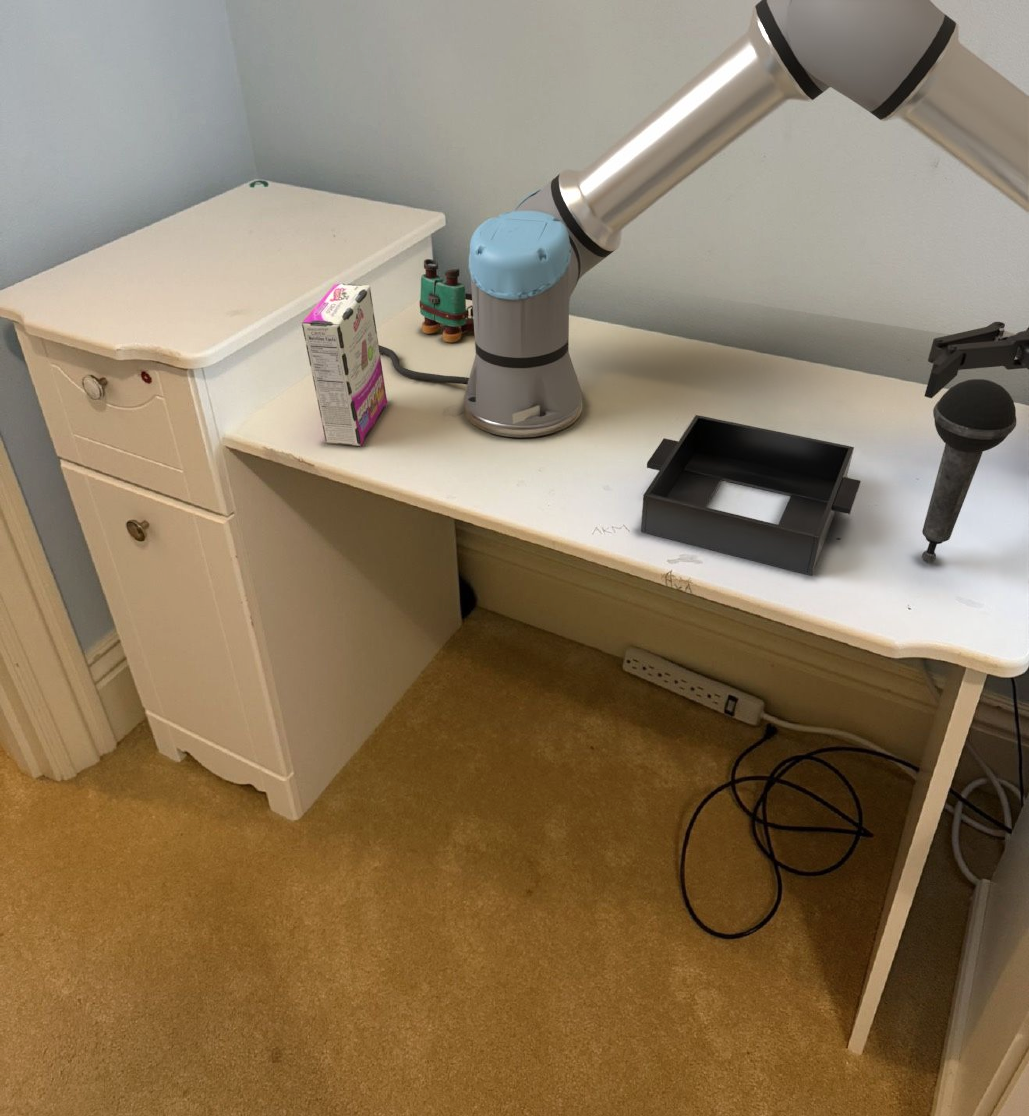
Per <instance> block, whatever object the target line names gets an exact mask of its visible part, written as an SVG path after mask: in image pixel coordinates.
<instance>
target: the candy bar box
mask: <svg viewBox="0 0 1029 1116" xmlns="http://www.w3.org/2000/svg"><path fill="white" fill-rule="evenodd" d="M371 292H372V291H371V285H368V284H366V285H364V284H352V283H351V284H349V283H347V284H345V283H334V284H333V285H332V286H331V288H330V289H329V290H328V291H327V292H326V293H325V294H324V296H323V297H322V298H321V299H320V300H319V301H318V303H317V304H316V305H315V306H314V307H313V308H312V309H311V310H310V312H309V313H308V314H307V315H306V317H304V318H303V320H302V321H301V322H300V323H301V327H302V332H303V337H304V341H305V342H304V343H305V346H306V353H307V357H308V363H309V367H310V371H311V372H310V373H311V376H312V380H313V385H314V391H315V397H316V400H317V401H316V402H317V405H318V410H319V411H318V412H319V415H320V420H321V425H322V431H323V436H324V440H325V443H326V444H329V445H339V446H351V447H361V446H362V445H363V443H364V442H365V440H366V439H367V437H368V435H369V434H370V433H371V430H372V429H373V427H374V425H375V424H376V422H377V420H378V419H379V417H380V416H381V414H382V412H383V411H384V409H385V407H386V406H387V405H388V399H387V392H386V386H385V377H384V372H383V365H382V360H381V359H382V357H381V353H380V351H379V345H380V344H379V337H378V331H377V325H376V318H375V317H376V316H375V311H374V310H375V309H374V304H373V298H372V297H373V296H372V293H371Z"/></svg>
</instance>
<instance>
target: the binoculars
mask: <svg viewBox="0 0 1029 1116" xmlns="http://www.w3.org/2000/svg"><path fill="white" fill-rule="evenodd" d="M438 269H439V263H438V262H437V261H436V260H434V259H431V258H426V259H424V260H423V270H425V273H424V274H422V275H421V277H420V299H419V313H420V315H421V316H423V317H424V321H423V322H422V324H421V331H422V333H424V334H430V335H431V334H435V333H437V332H438V331H440V330H441V328H442V325H444V326H445V329H444V330H442V340H443V341H444V342H446V343H454V342H457V341H459V340H461V338H462V333H466V332H468V333H469V332H474V319H473V304H472V305H471V304H470V305H469V306H468V307H467V301H472V293H468V292H466V287H465V284H464V283H462V282H459V280H458V279H459V277H460V268H453V269H449V270H445V271H444V276H445V279H446V280H444V279H443V277H442V276H440V275H438V274H437V272H438V271H437V270H438ZM469 309H470V310H469ZM469 312H470V313H469ZM469 315H470V317H469Z"/></svg>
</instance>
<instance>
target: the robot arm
mask: <svg viewBox="0 0 1029 1116" xmlns="http://www.w3.org/2000/svg"><path fill="white" fill-rule="evenodd" d="M959 30H960V29H959V24H958V23H957V22H956V21H955V20H953V19H952V18H951V17H950V16H948V15H947V14H946V13H944V12H943V11H942V10H941V9H939V8H938V7H937V6H936V5H935V4H934V3H933V2H932V1H931V0H760V1H759V2H758V3H756V5H755V6H753V7H752V11H751V16H750V21H749V26H748V28H747V31H746V32H745V33H744V34H743V35H741V36H740V37H739V38H738V39H737V40H735V41H734V42H733V43H732V44H731V45H730V46H728V47H727V48H726V49H725V50H724V51H722V52H721V53H720V54H719V55H718V56H716V57H715V58H714V59H713V60H712V61H711V62H709V63H708V64H707V65H706V66H705V67H704V68H702V69H701V70H700V71H699V72H698V73H696V74H695V75H694V76H693V77H692V78H690V79H689V80H688V81H687V82H686V83H684V84H683V85H682V86H681V87H680V88H678V89H677V90H676V91H675V92H674V93H673V94H671V95H670V96H669V97H667V99H666V100H665V101H663V102H662V103H661V104H660V105H659V106H657V107H656V108H655V109H654V110H652V111H651V112H650V113H649V114H648V115H646V117H644V118H643V119H642V120H641V121H639V123H638V124H636V125H635V126H634V127H632V129H630V130H629V131H627V133H626V134H624V135H623V136H622V137H621V138H620V139H618V140H617V141H616V142H614V143H613V145H612V146H610V147H609V148H608V149H607V150H606V151H604V152H603V153H601V155H599V156H598V157H597V158H596V159H595V160H594V161H592V162H591V163H590V164H589V165H588V166H587V167H585V168H584V169H583V170H574V169H568V168H567V169H563V170H562V171H561V172H560V173H559V174H557V176H555V177H554V178H552V180H550V181H549V182H548V183H547V184H546V185H544V186H543V187H542V188H540V189H539V188H538V189H537V190H536V191H534V192H532V193H530V194H528V195H527V196H526V197H524V198H523V199H522V201H520V202H519V203H518V205H517V206H516V207H515V209H514V210H513V211H509V212H505V213H501V214H499V215H498V217H490V218H489V219H486V220H485V221H483V222H482V223H481V224H480V225H478V226H477V228H476V229H475V230H474V232H473V234H472V235H471V238H470V243H469V255H468V271H469V275H470V286H471V287H470V288H471V294H472V302H471V303H472V306H473V319H474V331H473V332H474V334H473V335H474V346H475V347H474V349H475V350H474V351H475V356H474V360H473V364H472V367H471V370H470V374H469V377H468V376H466V377H465V376H457V375H443V374H435V373H429V372H421V371H415V370H412V369H408V368H405V367H404V366H402V365H401V364H400V360H399V357H398V355H397V353H396V352H395V351H394V350H393V349H391V348H388V347H386V346H383V345H380V344H378V345H379V351H380V354H382V355H385V356H386V357H387V356H388V357H389V358H390V360H391V365H392V367H393V368H394V370H395V371H396V372H397V373H398V374H400V375H403V376H405V377H408V378H410V379H411V378H412V379H416V380H421V381H427V382H429V381H430V382H436V383H445V384H458V385H466V387H465V388H466V389H465V392H464V395H463V400H464V401H463V402H464V413H465V416H466V418H467V419H468V421H469V422H470V423H471V424H472V425H473V426H474V427H476V428H478V429H479V430H481V431H484V432H487V433H489V434H493V435H495V436H502V437H507V438H534V437H540V436H541V437H542V436H546V435H551V434H553V433H557V432H559V431H561V430H564V429H566V428H567V427H569V426H571V425H572V424H574V423H575V422H576V421H577V420H578V419H579V418H580V416H581V413H582V411H583V390H582V387H581V384H580V382H579V378H578V376H577V373H576V370H575V367H574V364H573V360H572V358H571V355H570V347H569V345H570V342H569V340H570V300H571V296H572V294H573V293H574V291H575V288H576V287H577V285H578V283H579V280H580V279H581V278H582V277H583V276H584V275H585V274H587V273H588V272H589V271H591V269H593V268H595V266H597V265H598V264H600V263H601V262H603V261H604V260H605V259H606V258H607V257H609V256H610V255H611V254H612V253H614V252H615V251H617V250H618V249H619V248H620V246H621V240H622V233H623V230H624V229H625V228H626V227H628V226H629V225H630V224H631V223H633V222H634V221H636V220H637V219H638V218H639V217H641V216H642V215H643V214H644V213H646V212H647V211H649V210H650V209H651V208H652V207H654V206H655V205H656V204H657V203H659V202H660V201H661V200H663V199H664V198H666V197H667V196H668V195H669V194H671V193H672V192H674V190H676V189H677V188H678V187H679V186H681V185H682V184H684V183H685V182H687V180H689V179H690V178H691V177H693V176H694V175H695V174H696V173H698V172H699V171H700V170H702V169H703V168H704V167H705V166H707V165H709V163H711V162H712V161H713V160H715V159H716V158H717V157H718V156H720V155H721V154H723V153H724V152H725V151H726V150H727V149H729V148H730V147H731V146H733V145H734V144H735V143H737V142H738V141H739V140H741V139H742V138H743V137H744V136H746V135H747V134H748V133H750V132H751V131H752V130H753V129H755V128H756V127H757V126H759V125H760V124H761V123H762V122H764V121H766V120H767V118H769V117H770V116H772V115H773V114H774V113H776V112H777V111H778V110H779V109H781V108H782V107H783V106H784V105H786V104H788V103H789V102H790V101H800V102H809V103H811V102H813V101H814V100H815V99H817V98H818V97H819V96H820V95H822V94H823V93H825V92H826V91H827V90H828V89H830V88H831V89H833V90H835V91H836V92H837V93H839V94H841V95H843V96H844V97H846V98H848V99H849V100H850V101H852V102H854V103H855V104H857V105H858V106H860V107H861V108H863V109H864V110H865V111H867V112H869V113H870V114H872V116H874V117H875V118H877V119H878V120H880V121H881V122H888V121H893V120H896V119H897V120H901V121H902V122H903V123H905V124H906V125H907V126H908V127H910V128H911V129H912V130H914V131H915V132H916V133H918V134H919V135H921V136H922V137H923V138H925V139H926V140H928V141H929V142H930V143H932V144H933V145H934V146H935V147H937V148H938V149H939V150H941V151H942V152H944V153H945V154H946V155H948V156H949V157H951V158H952V159H953V160H955V161H956V162H957V163H958V164H960V165H962V166H963V167H964V168H965V169H967V170H968V171H969V172H971V173H972V174H974V175H975V176H976V177H977V178H979V179H980V180H982V181H983V182H985V183H986V184H987V185H988V186H990V187H991V188H992V189H994V190H995V191H996V192H998V193H999V194H1001V195H1002V196H1004V197H1005V198H1006V199H1008V200H1009V201H1010V202H1012V203H1013V204H1014V205H1016V206H1017V207H1018V208H1019V209H1021V210H1023V211H1024V212H1025V213H1027V214H1028V215H1029V95H1028V94H1027V93H1026V92H1024V91H1023V90H1021V89H1020V88H1019V87H1018V86H1016V85H1015V84H1014V83H1013V82H1012V81H1010V80H1009V79H1008V78H1006V77H1005V76H1003V75H1002V74H1001V73H1000V72H998V71H997V70H995V69H994V68H993V67H992V66H990V65H989V64H988V63H987V62H986V61H984V60H983V59H981V57H979V56H977V55H976V54H975V53H973V52H972V51H971V50H970V49H969V48H967V47H966V46H964V45H963V44H962V43H961V42H960V40H959ZM1005 327H1006V323H1004V322H1002V321H994V322H992V323H990V324H988V325H987V326H984V327H980V328H979V327H978V328H974V329H971V330H966V331H962V332H957V333H953V334H948V335H944V336H940V337H934V338H933V341H932V343H931V346H930V351H929V354H928V358H927V362H928V363H930V364H932V366H931V370H930V375H929V377H928V381H927V385H926V389H925V392H924V397H925V398H928V399H933V398H934V397H935V396H936V395H937V394H938V393H939V392H941V391H942V390H943V389H944V388H945V387H946V386H947V385H948V384H950V382H951V381H953V380H954V379H955V378H956V377H957V376H958V373H959V371H963V370H976V369H986V368H996V367H1003V368H1004V369H1006V370H1007V371H1009V370H1019V369H1020V370H1021V369H1027V370H1029V326H1028V327H1027V328H1026V329H1025V330H1021V331H1018V332H1017V333H1014V332H1010V331H1006V329H1005Z"/></svg>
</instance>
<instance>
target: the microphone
mask: <svg viewBox="0 0 1029 1116" xmlns="http://www.w3.org/2000/svg"><path fill="white" fill-rule="evenodd" d="M932 413H933V415H932V416H933V419H934V427H935V430H936V432H937V435H938V437H940V439H941V440H942V442H943V443H945V445H944V448H943V452H942V456H941V460H940V464H939V467H938V470H937V474H936V478H935V482H934V486H933V489H932V493H931V495H930V496H931V497H930V501H929V504H928V508H927V511H926V516H925V519H924V523H923V527H922V530H921V532H922V535H923V537H924V538H925V540H926V541H927V542H929V543H928V545H927V549H926V550H924V551H923V552H922V554H921V559H922V561H923V562H924V563H926V564H931V563H934V562H935V561H936V559H937V554H936V549H937V546H938V545H940V544H943V543H944V542H948V541H949V540H950V539H951V537H952V534H953V531H954V529H955V527H956V524H957V521H958V519H959V515H960V513H961V511H962V507H963V505H964V504H965V503H964V502H965V500H966V498H967V495H968V492H969V490H970V486H971V484H972V481H973V479H974V477H975V474H976V471H977V469H978V466H979V463H980V461H981V458H982V456H983V453H984V452H986V451H989V450H991V449H994V448H995V447H997V446H998V445H1000V444H1001V443H1003V442H1004V441H1005V440H1006V439H1007V437H1008V436H1009V435H1010V434H1011V433H1012V432H1013V431H1014V429H1016V426H1017V415H1016V413H1017V412H1016V405H1015V402H1014V399H1013V398H1012V396H1011V394H1010V393H1009V391H1007V389H1006V388H1004V387H1003V386H1002V385H1001V384H998V383H997V382H994V381H992V380H989V379H984V378H983V379H982V378H972V379H967V380H965V381H961V382H958V383H956V384H955V385H953V386H951V387H950V388H949V389H947V391H946V392H944V393H943V395H942V396H941V397H940V399H939V400H938V401H937V402H936V404H935V405H934V406H933V409H932Z"/></svg>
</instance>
